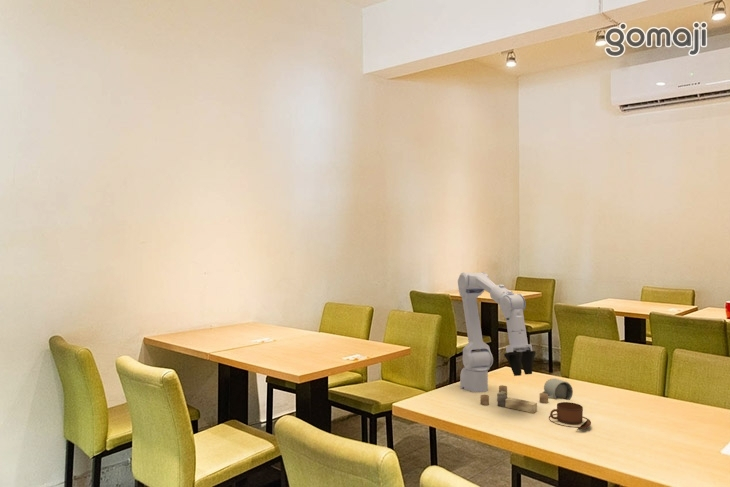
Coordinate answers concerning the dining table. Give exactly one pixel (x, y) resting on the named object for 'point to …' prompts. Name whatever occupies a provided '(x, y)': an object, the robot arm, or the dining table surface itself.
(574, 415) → the cup and saucer
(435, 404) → the dining table surface
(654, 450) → the dining table surface
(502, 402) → the leg bar
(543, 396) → the small brown blocks set
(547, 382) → the ceramic mug
